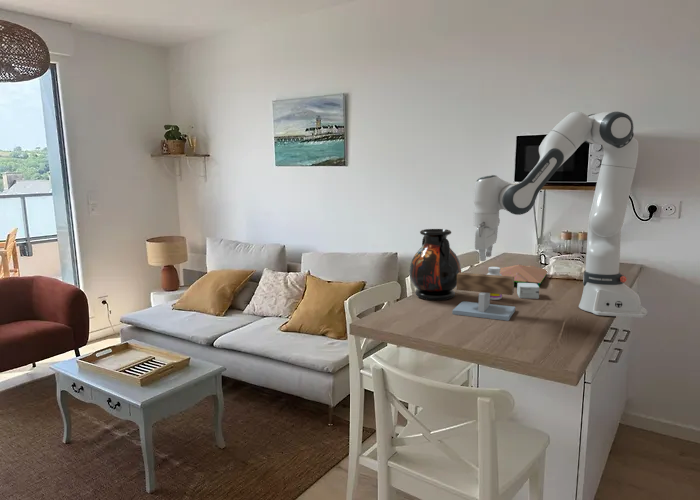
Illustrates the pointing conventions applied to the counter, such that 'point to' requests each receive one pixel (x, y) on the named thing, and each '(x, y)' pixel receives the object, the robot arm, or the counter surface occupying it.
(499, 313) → the balance stand
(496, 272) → the supplement bottle
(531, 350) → the counter surface
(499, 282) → the wooden block
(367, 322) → the counter surface
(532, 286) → the small box
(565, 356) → the counter surface
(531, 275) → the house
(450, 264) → the amphora vase
